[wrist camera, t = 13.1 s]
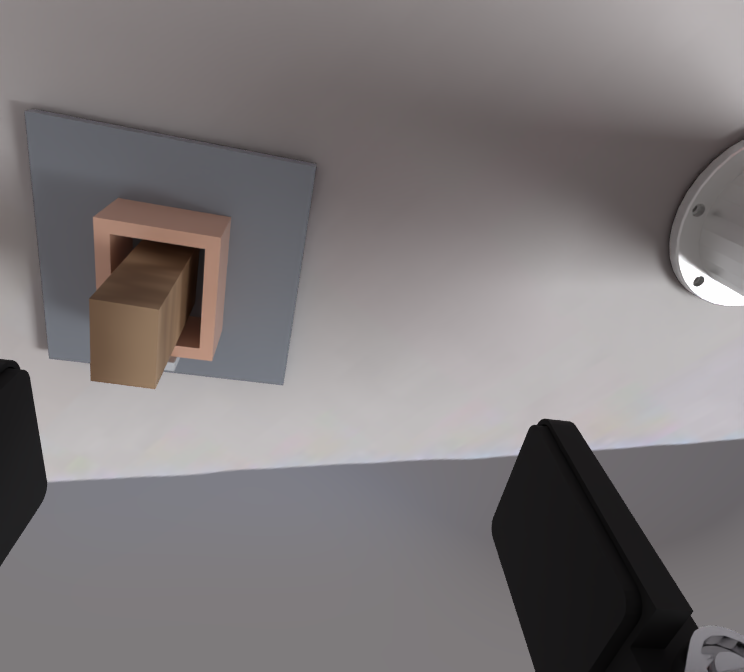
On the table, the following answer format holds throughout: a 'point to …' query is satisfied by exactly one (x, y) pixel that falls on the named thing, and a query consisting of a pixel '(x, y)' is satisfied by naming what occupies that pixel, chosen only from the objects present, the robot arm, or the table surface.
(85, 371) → the table surface
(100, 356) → the wooden rectangular block
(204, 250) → the square base with socket
